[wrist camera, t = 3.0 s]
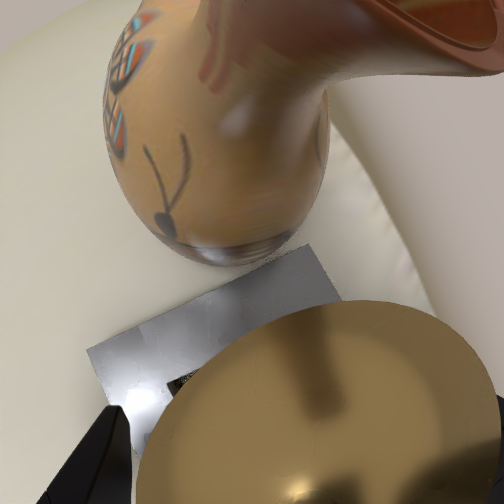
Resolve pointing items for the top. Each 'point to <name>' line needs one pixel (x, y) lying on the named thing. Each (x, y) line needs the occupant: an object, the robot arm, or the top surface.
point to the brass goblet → (331, 416)
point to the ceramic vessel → (260, 104)
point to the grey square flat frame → (201, 335)
